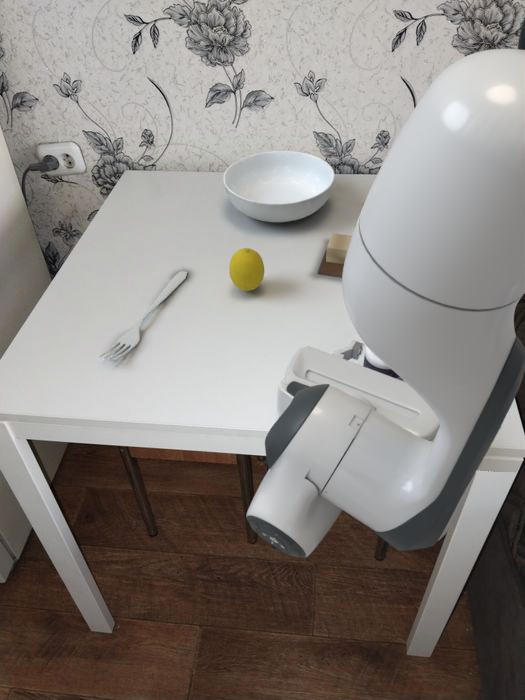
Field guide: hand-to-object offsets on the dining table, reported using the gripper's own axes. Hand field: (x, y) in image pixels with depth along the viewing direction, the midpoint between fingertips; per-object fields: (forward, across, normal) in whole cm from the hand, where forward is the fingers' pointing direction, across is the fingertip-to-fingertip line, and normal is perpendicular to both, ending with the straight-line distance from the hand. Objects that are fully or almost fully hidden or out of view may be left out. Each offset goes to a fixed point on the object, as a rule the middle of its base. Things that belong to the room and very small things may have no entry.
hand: (387, 355), depth 76 cm
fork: (-4, +37, +6) cm, 38 cm away
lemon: (+9, +27, +6) cm, 29 cm away
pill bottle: (-1, 0, +6) cm, 6 cm away
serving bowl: (+34, +36, +6) cm, 49 cm away
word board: (+25, +11, +6) cm, 28 cm away
